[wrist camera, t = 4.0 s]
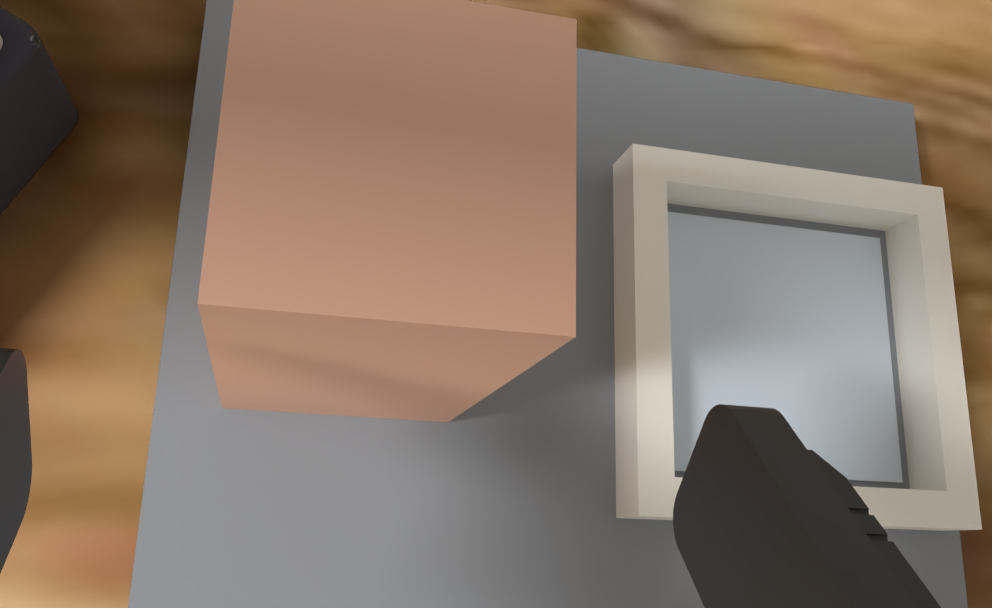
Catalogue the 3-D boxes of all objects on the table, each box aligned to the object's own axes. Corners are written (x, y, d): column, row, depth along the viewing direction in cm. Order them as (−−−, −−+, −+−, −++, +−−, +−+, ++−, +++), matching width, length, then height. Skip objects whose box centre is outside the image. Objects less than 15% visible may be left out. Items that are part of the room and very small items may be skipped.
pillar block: (222, 408, 18) (196, 303, 10) (245, 194, 19) (239, -40, 11) (447, 422, 19) (575, 336, 11) (456, 218, 20) (576, 19, 12)
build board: (129, 660, 17) (110, 677, 15) (211, 16, 21) (205, -47, 19) (936, 661, 21) (1016, 673, 19) (883, 123, 25) (945, 81, 23)
